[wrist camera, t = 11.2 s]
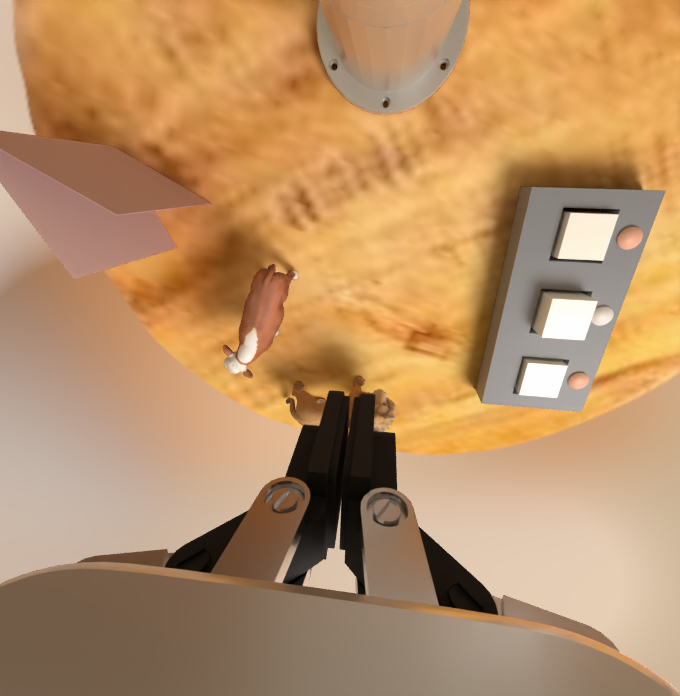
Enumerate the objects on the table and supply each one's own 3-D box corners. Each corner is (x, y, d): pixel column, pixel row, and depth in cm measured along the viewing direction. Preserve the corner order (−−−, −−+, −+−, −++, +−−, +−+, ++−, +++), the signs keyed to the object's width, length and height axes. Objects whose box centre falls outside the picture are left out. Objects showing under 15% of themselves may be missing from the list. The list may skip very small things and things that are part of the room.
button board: (520, 186, 34) (532, 187, 31) (642, 190, 33) (667, 190, 30) (475, 389, 44) (482, 404, 41) (569, 397, 43) (582, 412, 40)
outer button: (517, 349, 41) (528, 362, 38) (553, 351, 40) (567, 365, 37) (509, 379, 43) (519, 394, 39) (544, 381, 42) (556, 397, 39)
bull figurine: (237, 344, 45) (209, 375, 38) (275, 248, 40) (250, 263, 32) (268, 359, 46) (246, 393, 38) (310, 266, 40) (294, 285, 33)
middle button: (538, 288, 37) (552, 298, 33) (579, 290, 36) (597, 301, 33) (528, 324, 38) (541, 337, 35) (567, 327, 38) (584, 340, 35)
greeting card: (107, 150, 37) (-51, 132, 24) (160, 112, 35) (19, 68, 22) (171, 250, 41) (66, 283, 28) (222, 221, 39) (135, 242, 26)
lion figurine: (389, 360, 44) (389, 401, 36) (398, 396, 46) (401, 442, 38) (280, 383, 47) (258, 425, 39) (294, 416, 49) (276, 462, 41)
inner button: (553, 210, 35) (570, 212, 31) (597, 211, 34) (618, 214, 31) (542, 252, 36) (557, 258, 33) (584, 253, 36) (603, 260, 33)
